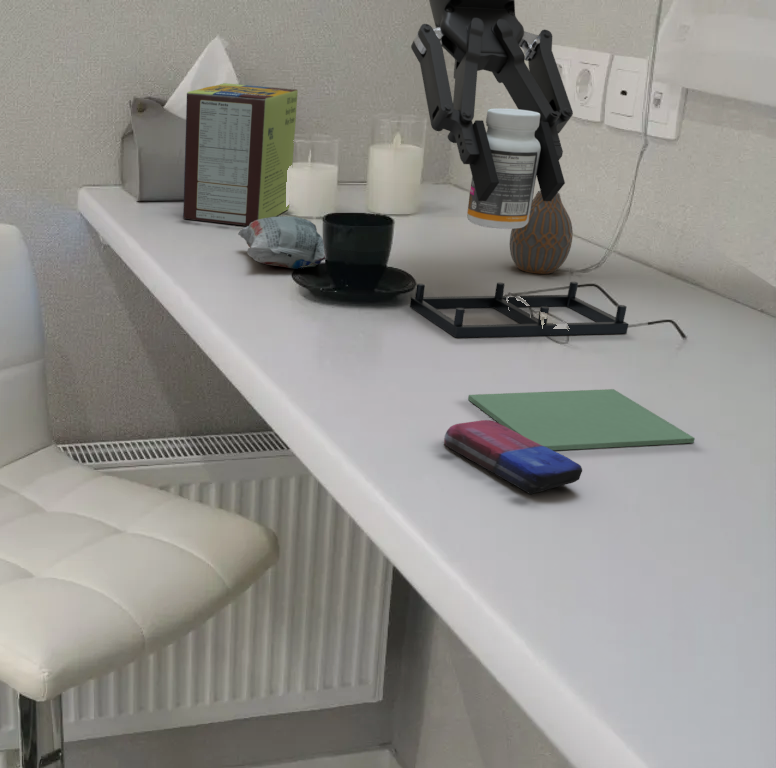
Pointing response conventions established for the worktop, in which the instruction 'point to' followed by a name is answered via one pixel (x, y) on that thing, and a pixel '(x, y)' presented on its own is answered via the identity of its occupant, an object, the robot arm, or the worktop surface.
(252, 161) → the protein box
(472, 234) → the worktop surface
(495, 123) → the pill bottle
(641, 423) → the mat
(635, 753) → the worktop surface
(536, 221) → the vase
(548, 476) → the eraser
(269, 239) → the packaged food
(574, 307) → the black rectangular frame
